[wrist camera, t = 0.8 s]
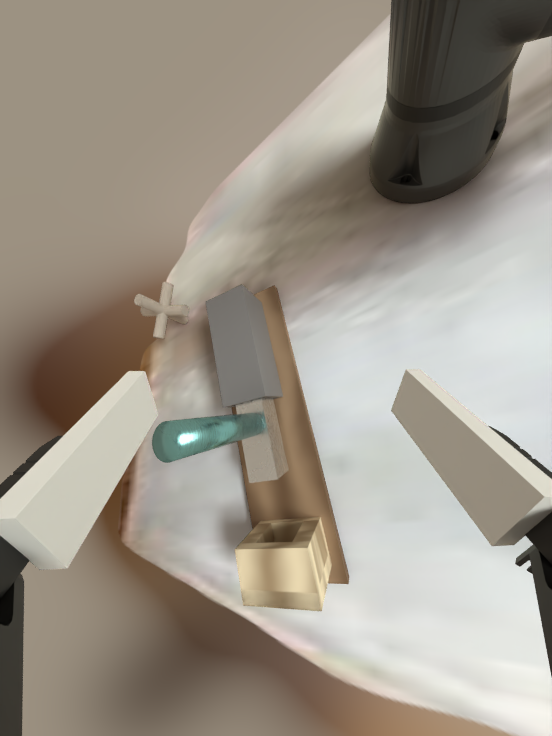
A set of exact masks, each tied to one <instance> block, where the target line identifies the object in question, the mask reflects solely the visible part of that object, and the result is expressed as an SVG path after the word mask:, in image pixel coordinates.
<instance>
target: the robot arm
mask: <svg viewBox="0 0 552 736" xmlns="http://www.w3.org/2000/svg"><path fill="white" fill-rule="evenodd" d="M549 36H552V0H392V2H391V20H390V39H389V57H388V76H387V94H386V101H385V105H384V108H383V111H382V114H381V117H380V120H379V123H378V127H377V130H376V133H375V136H374V139H373V143H372V146H371V151H370V177H371V181H372V183H373V185H374V187H375V188H376V190H377V191H378V192H379V193H380V194H382V195H383V196H385V197H387V198H389V199H391V200H394V201H398V202H404V203H417V202H425V201H430V200H433V199H437V198H440V197H442V196H445V195H447V194H449V193H451V192H453V191H455V190H457V189H459V188H460V187H462V186H463V185H465V184H466V183H468V182H469V181H470V180H471V179H473V178H474V177H475V176H476V175H477V174H478V173H479V172H480V171H481V170H482V169H483V167H484V166H485V165H486V164H487V162H488V161H489V159H490V157H491V156H492V154H493V152H494V150H495V148H496V146H497V144H498V142H499V140H500V138H501V136H502V133H503V130H504V127H505V123H506V117H507V111H508V103H509V96H510V89H511V82H512V75H513V68H514V66H515V63H516V61H517V59H518V57H519V54H520V52H521V50H522V47H523V45H524V43H526V42H530V41H534V40H537V39H541V38H545V37H549ZM391 411H392V412H393V414H394V415H395V416H396V418H397V419H398V420H399V422H400V423H401V424H402V426H403V427H404V428H405V430H406V431H407V433H408V434H409V435H410V437H411V438H412V439H413V441H414V442H415V443H416V445H417V446H418V447H419V449H420V450H421V451H422V453H423V454H424V455H425V457H426V458H427V459H428V461H429V462H430V463H431V465H432V466H433V467H434V469H435V470H436V472H437V473H438V474H439V476H440V477H441V478H442V480H443V481H444V482H445V484H446V485H447V486H448V488H449V489H450V490H451V492H452V493H453V494H454V496H455V497H456V498H457V500H458V501H459V502H460V504H461V505H462V506H463V508H464V509H465V511H466V512H467V513H468V515H469V516H470V517H471V519H472V520H473V521H474V523H475V524H476V525H477V527H478V528H479V529H480V531H481V532H482V533H483V535H484V536H485V537H486V539H487V540H488V541H489V543H490V544H491V545H492V546H504V545H515V544H516V543H517V542H518V541H519V540H521V539H522V538H523V537H524V536H525V535H526V536H527V538H528V539H529V540H530V541H531V542H532V543H533V544H534V545H532V546H531V547H530V548H528V549H527V550H526V551H525V552H523V553H522V554H521V555H520V556H518V557H517V558H516V563H515V564H516V565H518V566H522V565H523V564H524V563H526V562H527V561H528V560H530V561H531V566H530V567H529V568H528V569H527V571H528V572H530V573H532V574H533V578H534V583H535V589H536V594H537V600H538V605H539V610H540V616H541V621H542V627H543V632H544V638H545V643H546V649H547V654H548V659H549V665H550V670H551V676H552V472H550V471H549V470H548V469H547V468H545V467H544V466H543V465H542V464H541V463H539V462H538V461H537V460H536V459H532V456H531V455H529V454H528V453H527V452H526V451H525V450H523V449H520V446H518V445H517V444H516V443H515V442H513V441H512V440H511V439H510V438H509V437H507V436H506V435H504V434H503V433H501V432H499V431H497V430H496V429H494V428H492V427H490V426H487V425H486V424H485V423H484V422H483V421H481V420H480V419H479V418H478V417H477V416H475V415H474V414H473V413H472V412H471V411H469V410H468V409H467V408H466V407H465V406H463V405H462V404H461V403H460V402H459V401H457V400H456V399H455V398H454V397H453V396H451V395H450V394H449V393H448V392H447V391H445V390H444V389H443V388H442V387H441V386H439V385H438V384H437V383H436V382H435V381H434V380H432V379H431V378H430V377H429V376H428V375H426V374H425V373H424V372H423V371H422V370H420V369H406V371H405V373H404V376H403V379H402V382H401V385H400V387H399V390H398V393H397V396H396V398H395V401H394V404H393V407H392V409H391ZM157 416H158V411H157V408H156V405H155V402H154V398H153V395H152V392H151V389H150V386H149V382H148V379H147V376H146V373H145V371H128V372H127V373H126V374H125V375H124V376H123V377H122V378H121V379H120V380H119V381H118V382H117V383H116V384H115V385H114V386H113V387H112V388H111V389H110V390H109V391H108V392H107V393H106V394H105V395H104V396H103V397H102V398H101V399H100V400H99V401H98V402H97V403H96V404H95V405H94V406H93V407H92V408H91V409H90V410H89V411H88V412H87V413H86V414H85V415H84V416H83V417H82V418H81V419H80V420H79V421H78V422H77V423H76V424H75V425H74V426H73V427H72V428H71V429H70V430H69V431H68V432H67V433H66V434H65V435H64V436H57V437H55V438H54V439H52V440H51V441H49V442H48V443H46V444H44V445H43V446H41V447H40V448H39V449H38V450H37V451H36V452H34V453H33V454H32V455H31V456H30V457H29V458H28V459H27V460H26V463H25V464H22V465H21V466H20V467H19V468H17V470H15V471H14V472H13V475H10V476H9V477H8V478H7V479H6V480H5V481H4V482H3V483H2V484H1V485H0V736H22V693H23V692H22V690H23V621H24V618H23V617H24V580H23V577H22V575H21V574H20V573H21V572H22V570H23V569H24V567H25V566H26V565H27V563H28V562H29V561H30V562H31V563H32V564H33V565H35V566H36V567H37V568H38V569H39V570H48V569H67V568H68V567H69V565H70V563H71V562H72V560H73V558H74V557H75V555H76V553H77V551H78V550H79V548H80V546H81V545H82V543H83V541H84V540H85V538H86V536H87V535H88V533H89V531H90V529H91V528H92V526H93V524H94V523H95V521H96V519H97V517H98V516H99V514H100V512H101V511H102V509H103V507H104V506H105V504H106V502H107V501H108V499H109V497H110V496H111V494H112V492H113V490H114V489H115V487H116V485H117V484H118V482H119V480H120V479H121V477H122V475H123V474H124V472H125V470H126V468H127V467H128V465H129V463H130V462H131V460H132V458H133V457H134V455H135V453H136V452H137V450H138V448H139V446H140V445H141V443H142V441H143V440H144V438H145V436H146V435H147V433H148V431H149V429H150V428H151V426H152V424H153V423H154V421H155V419H156V418H157Z"/></svg>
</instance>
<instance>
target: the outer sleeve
mask: <svg viewBox="0 0 552 736" xmlns="http://www.w3.org/2000/svg"><path fill="white" fill-rule="evenodd" d="M206 307H207V313H208V319H209V326H210V332H211V338H212V344H213V350H214V356H215V362H216V368H217V374H218V380H219V386H220V392H221V398H222V405H223V407H236V406H235V405H237V404H240V403H244V402H248V401H251V400H255V399H259V398H262V397H266V398H273V399H276V398H280V397H283V393H282V389H281V384H280V380H279V376H278V371H277V367H276V363H275V358H274V354H273V349H272V345H271V341H270V336H269V332H268V328H267V323H266V319H265V314H264V310H263V306H262V302H261V301H259V300H258V299H257V298H256V297H255V296H254V295H253V294H252V293H251V292H250V291H249V290H248V289H246V288H245V287H244V286H243V285H240V286H237V287H235V288H233V289H231V290H229V291H227V292H225V293H223V294H221V295H219V296H217V297H214V298H212V299H210V300H208V301H206Z"/></svg>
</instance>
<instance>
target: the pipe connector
mask: <svg viewBox="0 0 552 736" xmlns="http://www.w3.org/2000/svg"><path fill="white" fill-rule="evenodd" d="M172 292H173V284H171V283H168V282H163V284H162V289H161V295H160V301H159V303H158V302H156V301H154V300H152V299H150V298H147V297H145V296H143V295H141V294H138V295H136V297H135V299H134V303H135V304H136V305H138V306H140V307H142V308H141V313H142V315H143V316H157V317H156V323H155V329H154V334H153V337H155V338H159V339H164V337H165V332H166V326H167V320H168V318H169V319H172V320H174V321H177V322H179V323H182V324H186V323H187V322H188V316H187V315H188V314H189V308H188V306H187V305H170V303H171V298H172Z"/></svg>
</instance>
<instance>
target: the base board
mask: <svg viewBox="0 0 552 736" xmlns="http://www.w3.org/2000/svg"><path fill="white" fill-rule="evenodd" d="M254 296H255V297H256V298H257V299H258V300H259V301H261V302H262V306H263V310H264V314H265V319H266V323H267V328H268V332H269V336H270V341H271V345H272V349H273V354H274V358H275V363H276V367H277V371H278V376H279V380H280V384H281V389H282V393H283V397H280V398H276V399H273V401H274V405H275V410H276V414H277V419H278V424H279V428H280V433H281V437H282V442H283V446H284V451H285V456H286V460H287V465H288V469H289V470H288V471H287V472H286V473H285V474H284V475H282V476H281V477H280V478H279V479H277V480H270V481H262V482H255V483H249V479H248V473H247V468H246V462H245V456H244V451H243V445H242V440H240V441H237V442H238V447H239V453H240V459H241V465H242V470H243V476H244V482H245V488H246V493H247V499H248V505H249V511H250V516H251V522H252V528H253V529H254V528H255V527H256V525H257V524H258V523H259V522H260V521H269V520H284V519H298V518H313V517H321V522H322V526H323V530H324V534H325V538H326V543H327V547H328V551H329V555H330V559H331V564H332V566H331V571H330V575H329V580H328V583H335V584H348V583H349V574H348V570H347V566H346V562H345V558H344V554H343V550H342V546H341V542H340V538H339V534H338V530H337V526H336V522H335V518H334V514H333V510H332V506H331V502H330V498H329V494H328V490H327V486H326V482H325V478H324V474H323V470H322V466H321V462H320V458H319V454H318V450H317V446H316V442H315V438H314V434H313V430H312V426H311V422H310V418H309V414H308V410H307V406H306V402H305V398H304V394H303V390H302V386H301V382H300V378H299V374H298V370H297V366H296V362H295V358H294V354H293V350H292V346H291V342H290V339H289V335H288V331H287V327H286V323H285V319H284V315H283V311H282V307H281V303H280V299H279V295H278V291H277V288H276V287H275V286H272V287H270V288H267V289H265V290H263V291H261V292H259V293H256V294H254ZM232 413H233V415H234V414H237V411H236V407H232Z"/></svg>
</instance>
